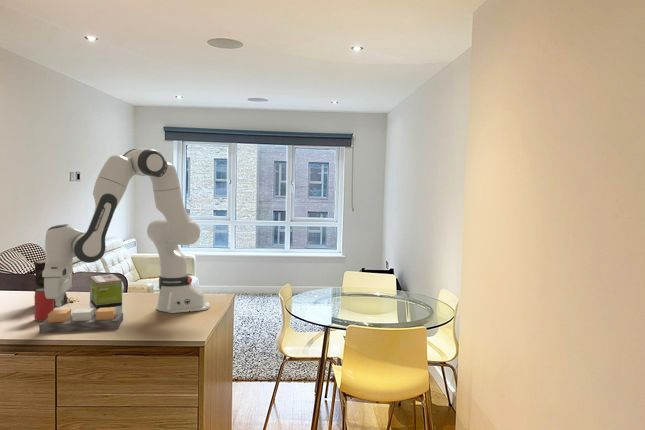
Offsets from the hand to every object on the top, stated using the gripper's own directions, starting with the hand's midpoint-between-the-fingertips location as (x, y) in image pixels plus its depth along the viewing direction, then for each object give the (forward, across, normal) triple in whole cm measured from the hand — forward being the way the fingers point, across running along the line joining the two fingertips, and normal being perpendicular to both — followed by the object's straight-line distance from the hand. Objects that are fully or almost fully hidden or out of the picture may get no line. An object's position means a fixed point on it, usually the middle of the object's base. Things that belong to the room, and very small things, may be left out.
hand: (59, 305), depth 173 cm
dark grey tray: (+8, 0, +8) cm, 12 cm away
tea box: (+8, -20, +12) cm, 25 cm away
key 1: (+6, 0, 0) cm, 6 cm away
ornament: (+8, -44, +10) cm, 46 cm away
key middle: (+6, 0, +8) cm, 10 cm away
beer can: (+8, -13, -9) cm, 18 cm away
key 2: (+6, 0, +16) cm, 17 cm away
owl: (+8, -36, -13) cm, 39 cm away
